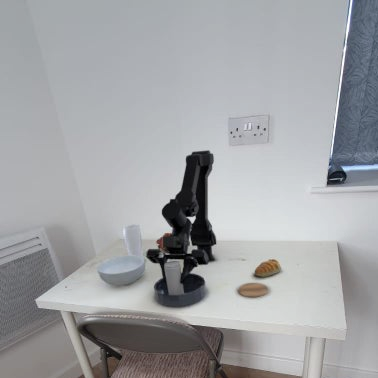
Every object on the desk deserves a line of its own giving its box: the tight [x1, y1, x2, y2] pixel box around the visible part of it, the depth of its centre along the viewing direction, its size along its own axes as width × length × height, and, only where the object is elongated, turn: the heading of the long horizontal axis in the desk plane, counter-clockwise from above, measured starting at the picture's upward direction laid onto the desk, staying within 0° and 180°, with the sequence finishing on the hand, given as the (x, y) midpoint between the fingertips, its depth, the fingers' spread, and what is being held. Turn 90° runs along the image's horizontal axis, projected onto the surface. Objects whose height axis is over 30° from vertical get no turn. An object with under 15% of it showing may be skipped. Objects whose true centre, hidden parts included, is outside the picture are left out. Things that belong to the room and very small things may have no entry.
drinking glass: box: [121, 223, 145, 260], centre depth 131 cm, size 7×7×15 cm
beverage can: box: [164, 260, 184, 295], centre depth 99 cm, size 5×5×12 cm
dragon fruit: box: [155, 232, 172, 253], centre depth 141 cm, size 8×8×12 cm
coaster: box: [238, 282, 269, 298], centre depth 102 cm, size 9×9×1 cm
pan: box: [153, 272, 207, 308], centre depth 104 cm, size 16×16×4 cm
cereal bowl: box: [96, 254, 146, 287], centre depth 117 cm, size 17×17×7 cm
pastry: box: [254, 258, 282, 278], centre depth 112 cm, size 9×7×4 cm
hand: (172, 283), depth 98 cm, fingers open, 5 cm apart
